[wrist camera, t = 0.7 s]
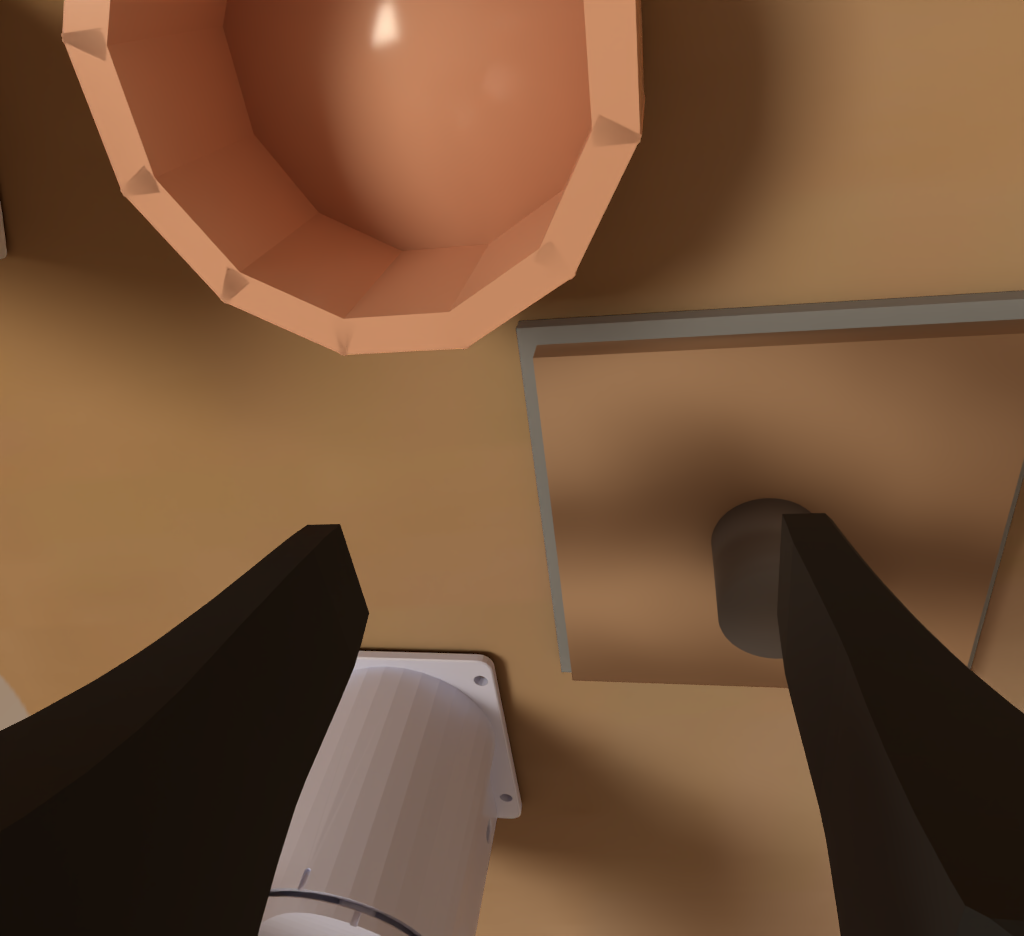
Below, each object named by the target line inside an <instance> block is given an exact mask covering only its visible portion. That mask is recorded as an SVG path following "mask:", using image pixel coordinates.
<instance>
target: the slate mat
mask: <svg viewBox="0 0 1024 936" xmlns="http://www.w3.org/2000/svg"><path fill="white" fill-rule="evenodd" d="M1013 319H1024V291H1009V292H993V293H976V294H960V295H943V296H926V297H910V298H893V299H876V300H860V301H843V302H826V303H810V304H793V305H777V306H760V307H743V308H727V309H710V310H693V311H677V312H660V313H644V314H627V315H610V316H594V317H577V318H560V319H544V320H527V321H519V322H518V325H517V327H516V332H517V339H518V347H519V354H520V362H521V369H522V377H523V384H524V392H525V399H526V407H527V415H528V422H529V430H530V437H531V445H532V452H533V460H534V467H535V475H536V482H537V490H538V497H539V505H540V512H541V520H542V527H543V535H544V542H545V550H546V557H547V565H548V572H549V580H550V587H551V595H552V602H553V610H554V617H555V625H556V632H557V640H558V647H559V655H560V663H561V670H562V672H571V663H570V655H569V647H568V639H567V631H566V623H565V615H564V607H563V599H562V590H561V582H560V574H559V566H558V558H557V550H556V542H555V534H554V526H553V517H552V509H551V501H550V493H549V485H548V477H547V469H546V461H545V453H544V444H543V436H542V428H541V420H540V412H539V404H538V396H537V388H536V380H535V371H534V363H533V356H534V353H535V349H536V346H537V345H546V344H565V343H583V342H602V341H621V340H639V339H658V338H677V337H695V336H714V335H733V334H752V333H770V332H789V331H808V330H826V329H845V328H864V327H882V326H901V325H920V324H939V323H957V322H976V321H995V320H1013ZM1023 477H1024V460H1023V463H1022V467H1021V471H1020V474H1019V478H1018V482H1017V486H1016V489H1015V493H1014V497H1013V500H1012V504H1011V508H1010V511H1009V515H1008V519H1007V522H1006V526H1005V530H1004V533H1003V537H1002V541H1001V544H1000V548H999V552H998V555H997V559H996V563H995V567H994V570H993V574H992V578H991V581H990V585H989V589H988V592H987V596H986V600H985V603H984V607H983V611H982V614H981V618H980V622H979V625H978V629H977V633H976V636H975V640H974V644H973V648H972V651H971V655H970V659H969V662H968V666H967V667H968V668H969V669H971V666H972V662H973V659H974V655H975V651H976V648H977V644H978V640H979V637H980V633H981V630H982V626H983V622H984V619H985V615H986V611H987V608H988V604H989V600H990V597H991V593H992V590H993V586H994V582H995V579H996V575H997V571H998V568H999V564H1000V561H1001V557H1002V553H1003V550H1004V546H1005V542H1006V539H1007V535H1008V532H1009V528H1010V524H1011V521H1012V517H1013V513H1014V510H1015V506H1016V502H1017V499H1018V495H1019V492H1020V488H1021V484H1022V481H1023Z"/></svg>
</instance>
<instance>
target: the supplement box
mask: <svg viewBox="0 0 1024 936" xmlns="http://www.w3.org/2000/svg"><path fill="white" fill-rule="evenodd" d="M6 256H7V249H6V239H5V232H4V225H3V216H2V210H1V203H0V259H3V258H5V257H6Z"/></svg>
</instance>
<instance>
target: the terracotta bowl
mask: <svg viewBox="0 0 1024 936" xmlns="http://www.w3.org/2000/svg"><path fill="white" fill-rule="evenodd" d="M61 36H62V41H63V42H64V43H65V46H66V49H67V51H68V54H69V56H70V59H71V62H72V64H73V67H74V69H75V72H76V74H77V77H78V80H79V82H80V85H81V87H82V90H83V93H84V95H85V98H86V100H87V103H88V105H89V108H90V111H91V113H92V116H93V118H94V121H95V124H96V126H97V129H98V131H99V134H100V136H101V139H102V142H103V144H104V147H105V149H106V152H107V154H108V157H109V160H110V162H111V165H112V167H113V170H114V173H115V175H116V178H117V180H118V183H119V185H120V188H121V190H120V191H121V192H122V193H123V196H126V198H127V199H128V200H129V201H130V202H131V203H132V204H133V205H134V206H135V207H136V208H137V209H138V210H139V212H140V213H141V214H142V215H143V216H144V217H145V218H146V219H147V220H148V221H149V222H150V223H151V224H152V226H153V227H154V228H155V229H156V230H157V231H158V232H159V233H160V234H161V235H162V236H163V237H164V238H165V239H166V241H167V242H168V243H169V244H170V245H171V246H172V247H173V248H174V249H175V250H176V251H177V252H178V253H179V255H180V256H181V257H182V258H183V259H184V260H185V261H186V262H187V263H188V264H189V265H190V266H191V267H192V269H193V270H194V271H195V272H196V273H197V274H198V275H199V276H200V277H201V278H202V279H203V280H204V281H205V283H206V284H207V285H208V286H209V287H210V288H211V289H212V290H213V291H214V292H215V293H216V294H217V295H218V297H219V298H220V299H221V301H223V302H224V303H225V304H226V303H227V304H230V305H232V306H234V307H236V308H239V309H241V310H243V311H245V312H248V313H250V314H252V315H254V316H257V317H259V318H261V319H263V320H266V321H268V322H270V323H272V324H275V325H277V326H279V327H281V328H284V329H286V330H288V331H290V332H293V333H295V334H297V335H299V336H302V337H304V338H306V339H308V340H311V341H313V342H315V343H317V344H320V345H322V346H324V347H327V348H329V349H331V350H333V351H336V352H338V353H340V355H345V356H346V355H351V354H369V353H388V352H407V351H425V350H444V349H463V350H464V349H466V348H469V346H470V345H472V344H473V343H475V342H476V341H478V340H479V339H481V338H482V337H484V336H485V335H487V334H488V333H490V332H491V331H493V330H494V329H496V328H497V327H499V326H500V325H502V324H503V323H505V322H506V321H508V320H509V319H511V318H512V317H514V316H515V315H517V314H518V313H520V312H521V311H523V310H524V309H526V308H527V307H529V306H530V305H532V304H533V303H535V302H536V301H538V300H539V299H541V298H542V297H544V296H545V295H547V294H548V293H550V292H551V291H553V290H554V289H556V288H557V287H559V286H560V285H562V284H563V283H565V282H566V281H568V280H569V279H571V280H572V278H573V277H574V276H575V275H576V272H577V268H578V266H579V264H580V262H581V260H582V258H583V256H584V254H585V252H586V249H587V247H588V245H589V243H590V241H591V239H592V237H593V235H594V233H595V231H596V229H597V227H598V225H599V223H600V221H601V219H602V217H603V214H604V212H605V210H606V208H607V206H608V204H609V202H610V200H611V198H612V196H613V194H614V192H615V190H616V188H617V186H618V184H619V182H620V179H621V177H622V175H623V173H624V171H625V169H626V167H627V165H628V163H629V161H630V159H631V157H632V155H633V153H634V151H635V149H636V147H637V144H638V143H640V142H641V136H642V130H643V119H644V108H645V97H646V96H645V95H644V76H643V45H642V14H641V0H64V12H63V33H62V34H61Z"/></svg>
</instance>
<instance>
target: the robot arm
mask: <svg viewBox="0 0 1024 936" xmlns="http://www.w3.org/2000/svg"><path fill="white" fill-rule="evenodd" d="M368 615H369V611H368V608H367V605H366V602H365V599H364V596H363V593H362V590H361V587H360V584H359V581H358V578H357V575H356V572H355V569H354V566H353V563H352V559H351V556H350V553H349V550H348V547H347V544H346V541H345V538H344V535H343V532H342V529H341V526H340V524H327V525H307V526H305V527H304V528H302V529H301V530H299V531H298V532H297V533H295V534H294V535H293V536H291V537H290V538H289V539H287V540H286V541H285V542H283V543H282V544H281V545H280V546H278V547H277V548H276V549H275V550H273V551H272V552H271V553H270V554H268V555H267V556H266V557H265V558H263V559H262V560H261V561H260V562H258V563H257V564H256V565H255V566H254V567H252V568H251V569H250V570H249V571H247V572H246V573H245V574H244V575H242V576H241V577H240V578H239V579H237V580H236V581H235V582H234V583H232V584H231V585H230V586H229V587H227V588H226V589H225V590H224V591H222V592H221V593H220V594H219V595H217V596H216V597H215V598H214V599H212V600H211V601H210V602H208V603H207V604H206V605H204V606H203V607H202V608H200V609H199V610H198V611H196V612H195V613H193V614H192V615H191V616H189V617H188V618H187V619H185V620H184V621H183V622H181V623H180V624H179V625H177V626H176V627H175V628H173V629H172V630H171V631H169V632H168V633H167V634H165V635H164V636H162V637H161V638H160V639H158V640H157V641H155V642H154V643H152V644H151V645H149V646H148V647H147V648H145V649H144V650H142V651H141V652H139V653H138V654H136V655H135V656H133V657H131V658H130V659H128V660H127V661H125V662H124V663H122V664H120V665H119V666H117V667H116V668H114V669H112V670H111V671H109V672H108V673H106V674H104V675H103V676H101V677H100V678H98V679H96V680H94V681H93V682H91V683H89V684H88V685H86V686H84V687H82V688H80V689H79V690H77V691H75V692H73V693H71V694H70V695H68V696H66V697H64V698H62V699H60V700H59V701H57V702H55V703H53V704H51V705H50V706H48V707H46V708H44V709H42V710H41V711H39V712H37V713H35V714H33V715H31V716H29V717H28V718H26V719H24V720H22V721H20V722H18V723H16V724H14V725H11V726H9V727H7V728H5V729H3V730H1V731H0V936H475V934H476V929H477V923H478V918H479V912H480V907H481V902H482V896H483V891H484V886H485V880H486V875H487V870H488V864H489V859H490V854H491V848H492V843H493V838H494V832H495V827H496V822H497V818H508V819H514V818H517V817H519V816H520V815H521V810H522V802H521V797H520V792H519V787H518V782H517V777H516V772H515V767H514V762H513V757H512V752H511V747H510V742H509V737H508V732H507V727H506V722H505V717H504V712H503V707H502V702H501V697H500V692H499V687H498V682H497V677H496V672H495V667H494V663H493V661H492V660H491V659H490V658H489V657H487V656H485V655H480V654H453V653H418V652H383V651H359V650H360V646H361V643H362V639H363V635H364V631H365V627H366V623H367V619H368ZM777 618H778V626H779V634H780V642H781V650H782V657H783V664H784V671H785V676H786V680H787V684H788V688H789V692H790V696H791V700H792V704H793V708H794V712H795V716H796V720H797V724H798V727H799V731H800V735H801V739H802V743H803V747H804V751H805V754H806V758H807V762H808V766H809V770H810V774H811V778H812V781H813V785H814V789H815V793H816V797H817V801H818V805H819V809H820V813H821V818H822V823H823V827H824V832H825V837H826V842H827V848H828V855H829V861H830V868H831V874H832V880H833V887H834V893H835V900H836V906H837V913H838V920H839V926H840V933H841V936H1024V713H1022V712H1021V711H1020V710H1018V709H1017V708H1016V707H1014V706H1013V705H1012V704H1011V703H1009V702H1008V701H1007V700H1006V699H1005V698H1003V697H1002V696H1001V695H1000V694H999V693H997V692H996V691H995V690H994V689H992V688H991V687H990V686H989V685H988V684H986V683H985V682H984V681H983V680H982V679H981V678H979V677H978V676H977V675H976V674H975V673H974V672H973V671H971V670H970V669H969V668H968V667H967V666H966V665H965V664H964V663H962V662H961V661H960V660H959V659H958V658H957V657H956V656H955V655H954V654H953V653H952V652H950V651H949V650H948V649H947V648H946V647H945V646H944V645H943V644H942V643H941V642H940V641H939V640H938V639H937V638H936V637H935V636H934V635H933V634H932V633H931V632H930V631H929V630H928V629H927V628H926V627H925V626H924V625H923V624H922V623H921V622H920V621H919V620H918V619H917V618H916V617H915V616H914V615H913V614H912V613H911V612H910V611H909V610H908V609H907V608H906V607H905V606H904V604H903V603H902V602H901V601H900V600H899V599H898V598H897V597H896V596H895V595H894V594H893V593H892V591H891V590H890V589H889V588H888V587H887V586H886V585H885V584H884V583H883V582H882V580H881V579H880V578H879V577H878V576H877V575H876V574H875V572H874V571H873V570H872V569H871V568H870V567H869V565H868V564H867V563H866V562H865V561H864V559H863V558H862V557H861V556H860V555H859V553H858V552H857V551H856V550H855V548H854V547H853V546H852V545H851V543H850V542H849V541H848V540H847V538H846V537H845V536H844V534H843V533H842V532H841V531H840V529H839V528H838V527H837V525H836V524H835V523H834V521H833V520H832V519H831V518H830V517H829V516H828V515H827V514H826V513H800V514H782V525H781V545H780V564H779V584H778V603H777ZM480 676H483V677H480Z"/></svg>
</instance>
